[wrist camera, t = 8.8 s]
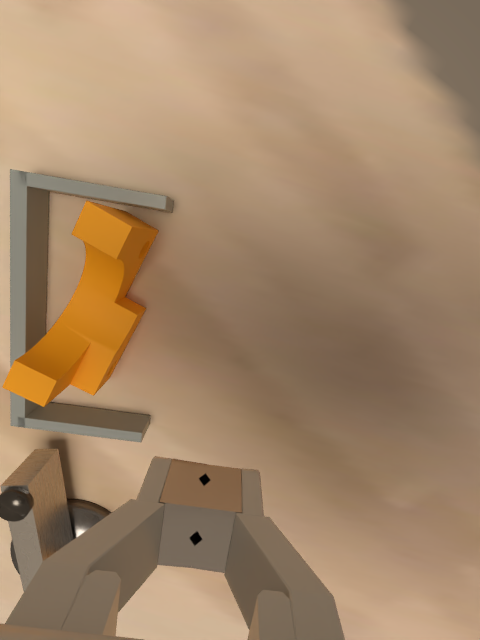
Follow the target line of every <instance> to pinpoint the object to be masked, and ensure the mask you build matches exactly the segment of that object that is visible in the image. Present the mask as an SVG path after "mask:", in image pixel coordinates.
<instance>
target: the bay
mask: <svg viewBox="0 0 480 640" xmlns="http://www.w3.org/2000/svg"><path fill="white" fill-rule="evenodd" d="M49 192H53V193H59V194H65V195H71V196H76V197H82V198H88V199H94V200H100V201H106V202H112V203H118V204H124V205H130V206H135V207H141V208H147V209H153V210H159V211H165V212H171V213H172V211H173V202H174V201H173V200H172V199H170V198H169V197H167V196H163V195H157V194H151V193H146V192H140V191H134V190H128V189H122V188H117V187H111V186H105V185H99V184H93V183H88V182H82V181H76V180H70V179H64V178H59V177H53V176H47V175H41V174H35V173H30V172H24V171H18V170H12V169H10V363H11V367H12V365H13V363H14V360H16V359H18V358H19V357H21V356H22V355H24V354H25V353H26V352H28V351H29V350H30V349H31V348H32V347H34V346H35V345H36V344H37V343H38V342H39V341H40V340H41V339H42V338H43V337H44V336H45V335H46V300H47V258H48V217H49ZM149 424H150V415H143V414H135V413H128V412H120V411H113V410H105V409H97V408H90V407H82V406H75V405H67V404H60V403H52V402H49V403H48V404H47V405H46V406H45V407H43V406H40V405H38V404H36V403H34V402H32V401H30V400H28V399H26V398H24V397H22V396H19V395H17V394H15V393H13V392H11V426H16V427H24V428H32V429H39V430H47V431H55V432H63V433H71V434H79V435H87V436H94V437H102V438H110V439H118V440H126V441H134V442H142V440H143V437H144V435H145V433H146V431H147V429H148V426H149Z"/></svg>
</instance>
